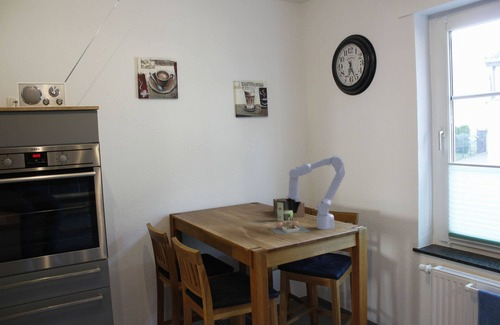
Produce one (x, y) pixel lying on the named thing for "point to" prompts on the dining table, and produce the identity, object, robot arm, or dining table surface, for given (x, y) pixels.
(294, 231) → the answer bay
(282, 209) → the coffee can
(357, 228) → the dining table surface
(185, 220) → the dining table surface
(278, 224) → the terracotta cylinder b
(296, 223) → the pink rounded cylinder
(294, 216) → the tissue box cover
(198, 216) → the dining table surface
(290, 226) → the maple cube
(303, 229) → the slate board
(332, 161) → the robot arm
